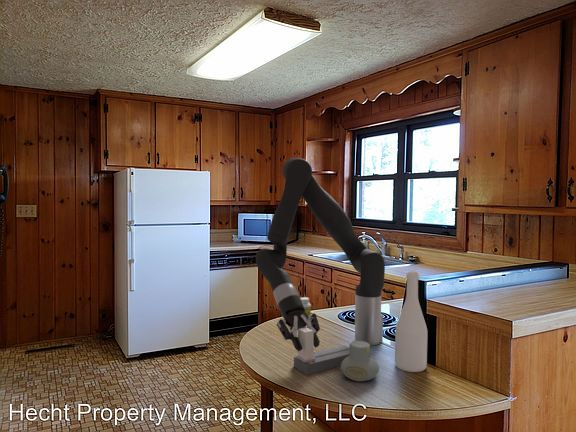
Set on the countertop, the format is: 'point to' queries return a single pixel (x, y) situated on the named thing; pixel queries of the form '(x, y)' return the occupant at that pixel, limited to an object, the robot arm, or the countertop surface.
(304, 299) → the supplement bottle
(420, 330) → the wine bottle
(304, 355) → the fader tab
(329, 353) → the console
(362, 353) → the air freshener
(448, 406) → the countertop surface
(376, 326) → the robot arm
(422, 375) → the countertop surface
